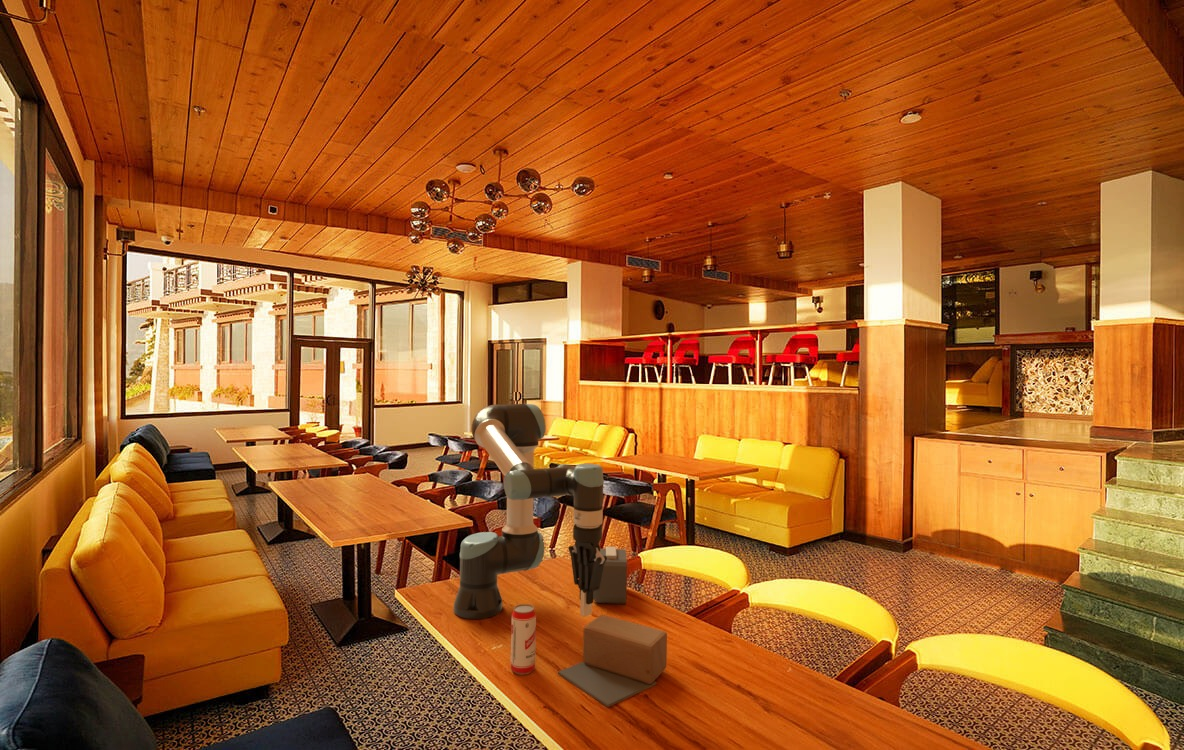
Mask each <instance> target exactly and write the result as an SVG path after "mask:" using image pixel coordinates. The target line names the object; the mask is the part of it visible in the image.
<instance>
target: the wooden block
mask: <svg viewBox="0 0 1184 750" xmlns="http://www.w3.org/2000/svg"><path fill="white" fill-rule="evenodd" d="M582 632H583V635H582V636H583V637H582V638H583V643H582V644H583V645H582V649H583V650H582V651H583V652H582V653H583V655H582V657H583V658H582V662H583V661H584V663H585V664H588V665H591V666H594V667H597V668H600V669H603V670H607V671H610V672H613V673H616V674H619V675H622V676H625V677H628V678H631V679H634V680H638V681H641V682H644V683H647V684H651V683H653V682H654V681H655V682H656V679H658V678H659V676H661V675H662V673H663V672H664V671H665V670H666V668H667V665H668V663H667V657H668V656H667V655H668V648H667V647H668V634H667V631H665V630H662V629H657V628H654V627H650V626H646V625H643V624H639V623H635V622H632V621H628V620H625V619H624V620H623V619H621V618H617V617H612V616H609V615H605V614H600V615H598V616H597V617H596V618H595V619H593V620H592V621H590V622H589V623H588V624H586V625H585V626H584V628H583V631H582Z"/></svg>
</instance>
